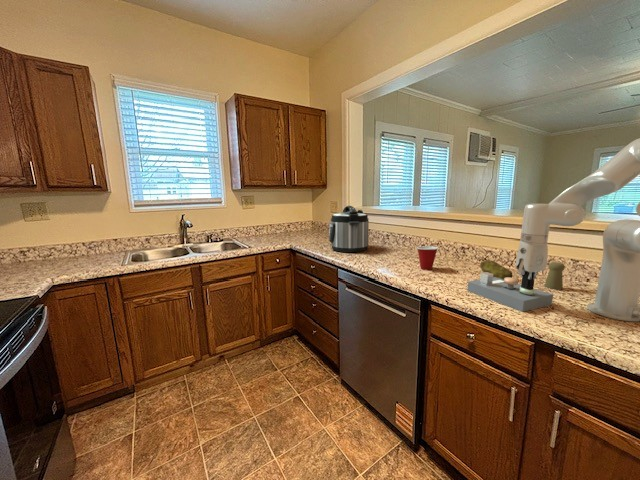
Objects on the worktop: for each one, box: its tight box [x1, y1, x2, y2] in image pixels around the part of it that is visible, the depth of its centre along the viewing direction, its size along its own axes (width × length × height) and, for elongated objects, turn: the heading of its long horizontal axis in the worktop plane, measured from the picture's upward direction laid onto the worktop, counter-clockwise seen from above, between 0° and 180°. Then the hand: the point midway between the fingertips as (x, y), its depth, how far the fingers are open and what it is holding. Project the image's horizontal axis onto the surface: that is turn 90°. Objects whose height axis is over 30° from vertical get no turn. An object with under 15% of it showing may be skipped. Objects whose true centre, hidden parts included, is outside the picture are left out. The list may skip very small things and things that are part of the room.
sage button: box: [520, 287, 536, 296], centre depth 98 cm, size 4×4×4 cm
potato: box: [480, 259, 513, 280], centre depth 129 cm, size 8×13×8 cm, turn 26°
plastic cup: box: [416, 245, 439, 271], centre depth 145 cm, size 11×11×12 cm
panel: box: [466, 277, 554, 313], centre depth 105 cm, size 22×16×4 cm
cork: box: [544, 261, 566, 291], centre depth 114 cm, size 6×6×11 cm
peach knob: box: [504, 277, 519, 290], centre depth 103 cm, size 4×4×4 cm
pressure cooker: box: [328, 205, 370, 253], centre depth 194 cm, size 30×28×32 cm
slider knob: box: [479, 272, 493, 284], centre depth 108 cm, size 3×3×4 cm
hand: (526, 288), depth 98 cm, fingers closed
